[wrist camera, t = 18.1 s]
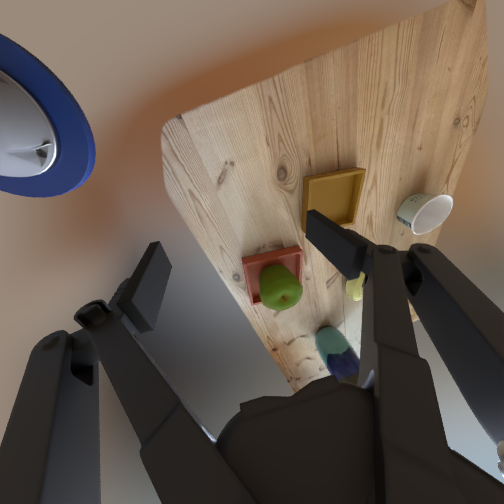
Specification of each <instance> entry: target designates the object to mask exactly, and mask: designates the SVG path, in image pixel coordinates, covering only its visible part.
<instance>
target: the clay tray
mask: <svg viewBox="0 0 504 504" xmlns="http://www.w3.org/2000/svg"><path fill="white" fill-rule="evenodd" d="M302 256H303V251H302V249H301V248H300V247H299V246H298V245H297V246H293V247H288V248H284V249H280V250H275V251H271V252H266V253H262V254H258V255H253V256H249V257H244V258H242V262H243V268H244V273H245V278H246V283H247V288H248V293H249V298H250V302H251V306H252V305H256V304H260V303H262V301H261V298H260V294H259V276H260V274H261V273H262V271H263V270H264V269H266V268H267V267H270V266H273V265H283V266H285V267H287V268H288V270H289V271H290V272H291V273H292V274H293V275H295V276H296V277H297V279H298V280H299V281H300V283H302Z"/></svg>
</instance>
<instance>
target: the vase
mask: <svg viewBox="0 0 504 504" xmlns="http://www.w3.org/2000/svg"><path fill="white" fill-rule="evenodd" d="M315 345H316V348H317V351H318V353H319V355H320V357H321V358H322V360H323V362H324V364H325V365H326V367H327V369H328V371H329V372H330V374H331V375H333V374H334V375H335V377H336V379H337V381H342V382H348V383H351V384H354V385H357V382H358V377H359V370H360V359H359V357H358V356H357V354H356V352H355V351H354V349H353V348H352V346H351V345H350V343H349V341H348V340H347V339H346V337H345V336H344V335H343V334H342V333H341V332H340V331H339V330H337V329H335V328H333V327H325V328H323V329H321V330H319V331H318V332H317V334H316V336H315Z"/></svg>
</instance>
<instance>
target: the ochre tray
mask: <svg viewBox="0 0 504 504" xmlns="http://www.w3.org/2000/svg"><path fill="white" fill-rule="evenodd" d="M365 172H366V169H363V168H357V167H356V168H351V169H346V170H340V171H335V172H329V173H324V174H319V175H313V176H308V177H303V205H302V231H303V232H304V233H306V213H307V211H308V210H312V209H315V210H317V211H318V212H320V213H321V214H323V215H324V216H326V217H327V218H329V219H330V220H332V221H333V222H335V223H337V224H338V225H340V226H341V227H344V226H348V225H353V224H355V219H356V214H357V210H358V205H359V200H360V195H361V191H362V186H363V181H364V177H365Z"/></svg>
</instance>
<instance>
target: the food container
mask: <svg viewBox="0 0 504 504" xmlns="http://www.w3.org/2000/svg"><path fill="white" fill-rule="evenodd" d="M452 207H453V198H452V197H451V196H450V195H448V194H441V195H433V194H420V193H418V194H414V195H412V196H410V197H409V198H407V199H406V200H405V201H404V202H403V203H402V204H401V206H400V207H399V209H398V212H397V219H398V220H399V221H400V222H401V223H403V224H404V225H406V226H407V227H408V228H410V229H411V230H412V231H413V233H415V234H417V235H423V234H426V233H429V232H431V231H432V230H434V229H435V228H437V227H438V226H439V225H440V224H441V223H442V222H443V221H444V220H445V219H446V218H447V216H448V215H449V213H450V211H451V209H452Z"/></svg>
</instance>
